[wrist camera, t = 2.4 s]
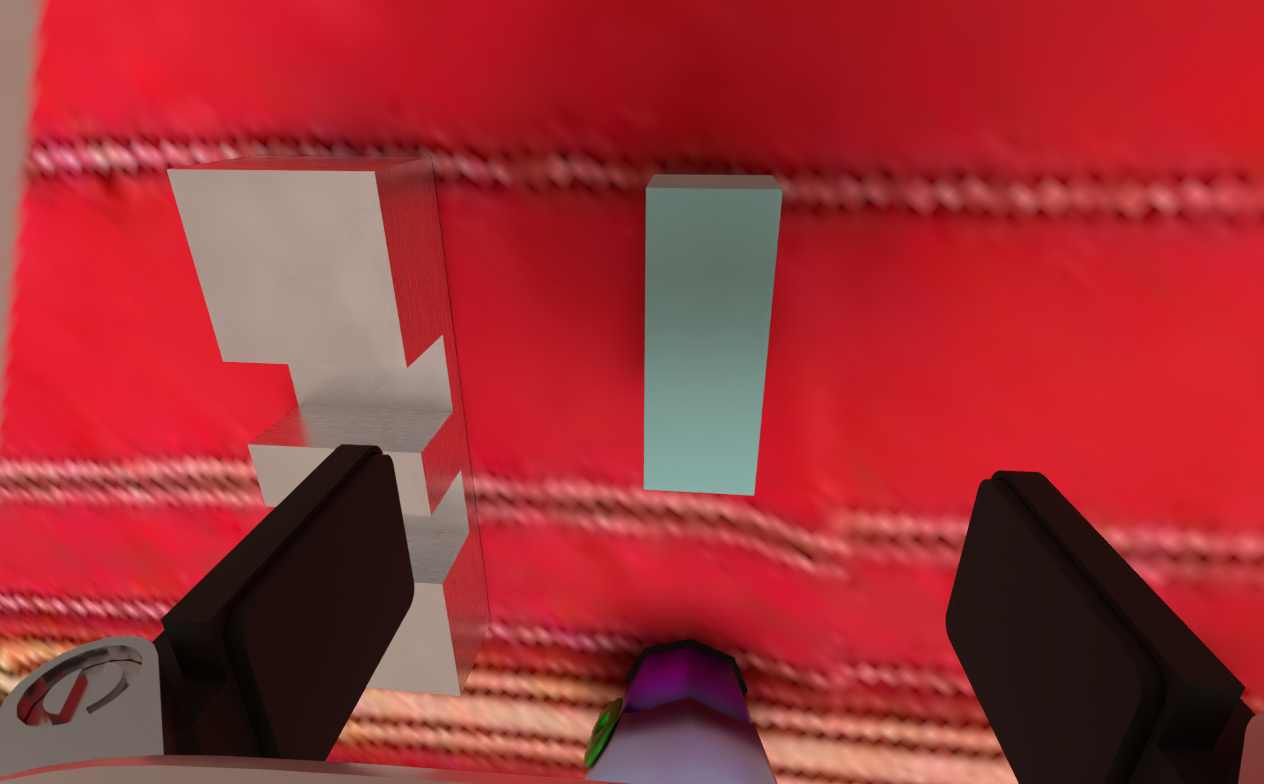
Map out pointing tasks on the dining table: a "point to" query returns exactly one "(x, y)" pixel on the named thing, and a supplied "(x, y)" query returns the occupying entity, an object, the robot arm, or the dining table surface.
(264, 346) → the rail
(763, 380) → the teal u-shaped block
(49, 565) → the dining table surface
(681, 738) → the potion bottle
